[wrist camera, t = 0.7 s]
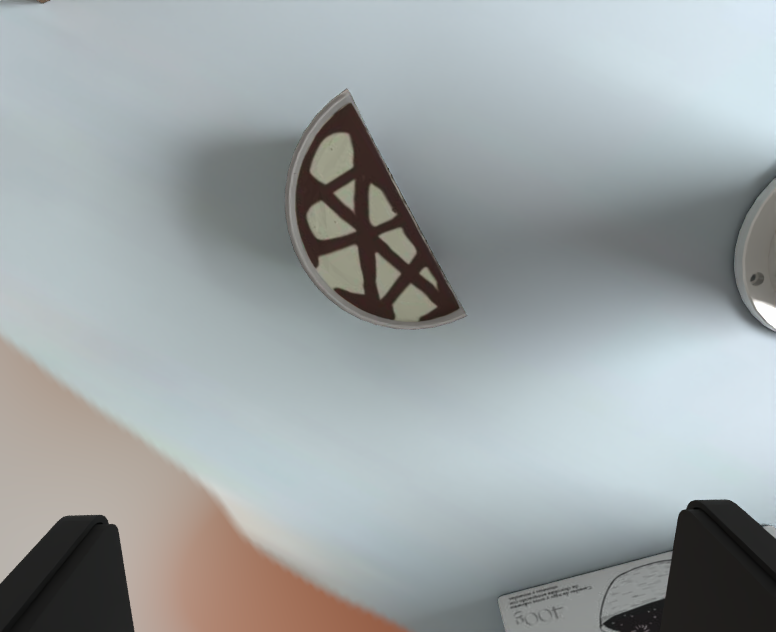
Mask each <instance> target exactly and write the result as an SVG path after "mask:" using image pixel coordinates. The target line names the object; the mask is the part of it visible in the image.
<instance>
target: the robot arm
mask: <svg viewBox="0 0 776 632" xmlns="http://www.w3.org/2000/svg"><path fill="white" fill-rule="evenodd" d="M734 271H735V277H736V284H737V287H738V290H739V292H740V295H741V298H742V300H743V302H744V303H745V305H746V306H747V308H748V309H749V311H750V312H751V314H752V315H753V316H754V317H755V318H756V319H758V320H759V321H760V322H761V323H762V324H763V325H764V326H766V327H768V328H769V329H771V330H773V331H775V332H776V178H775V179H774V180H773V181H772V182H771V183H770V184H769V185H768V186H767V187H766V188H765V189H764V190H763V192H762V193H761V194H760V195H759V196H758V198H757V199H756V201H755V202H754V204H753V205H752V207H751V208H750V210H749V211H748V213H747V215H746V218H745V220H744V222H743V224H742V227H741V229H740V231H739V235H738V239H737V244H736V248H735V259H734ZM0 632H134V626H133V621H132V614H131V608H130V601H129V595H128V588H127V583H126V576H125V570H124V564H123V557H122V550H121V544H120V538H119V532H118V528H117V527H116V525H114V524H109V523H108V520H107V519H106V517H105V516H103V515H80V516H65V517H63V518H61V519H60V520H59V521H58V522H57V523H56V524H55V525H54V526H53V527H52V528H51V529H50V530H49V532H48V533H47V534H46V535H45V536H44V537H43V538H42V539H41V540H40V541H39V542H38V544H37V545H36V546H35V547H34V548H33V549H32V550H31V551H30V552H29V553H28V554H27V555H26V557H25V558H24V559H23V560H22V561H21V562H20V563H19V564H18V565H17V566H16V567H15V569H14V570H13V571H12V572H11V573H10V574H9V575H8V576H7V577H6V578H5V579H4V581H3V582H2V583H1V584H0ZM660 632H776V538H774V537H773V536H772V535H771V534H770V533H769V532H768V531H766V530H765V529H764V528H763V527H762V526H761V525H760V524H758V523H757V522H756V521H755V520H754V519H753V518H752V517H750V516H749V515H748V514H747V513H746V512H745V511H744V510H742V509H741V508H740V507H739V506H738V505H737V504H735V503H734V502H732V501H730V500H694V501H691V502H690V503H689V504H688V506H687V509H686V510H682V511H681V512H680V513H679V516H678V521H677V527H676V533H675V540H674V546H673V552H672V559H671V565H670V571H669V577H668V584H667V590H666V596H665V602H664V609H663V615H662V621H661V627H660Z"/></svg>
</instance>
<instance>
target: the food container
mask: <svg viewBox="0 0 776 632" xmlns="http://www.w3.org/2000/svg"><path fill="white" fill-rule="evenodd" d="M285 214H286V220H287V226H288V232H289V235H290V238H291V241H292V245H293V248H294V251H295V253H296V255H297V257H298V259H299V261H300V263H301V265H302V267H303V269H304V270H305V272H306V273H307V275H308V276H309V277H310V279H311V280H312V282H313V283H314V284H315V285H316V286H317V288H318V289H319V290H320V291H321V292H322V293H323V294H324V295H325V296H326V297H327V298H328V299H330V300H331V301H332V302H333V303H335V304H336V305H337V306H339V307H340V308H341V309H343V310H344V311H346V312H348V313H350V314H352V315H353V316H355V317H357V318H359V319H362V320H364V321H367V322H370V323H373V324H375V325H379V326H384V327H389V328H394V329H412V330H414V329H424V328H433V327H437V326H441V325H445V324H448V323H452V322H454V321H456V320H459V319H461V318H464V317H466V316H467V314H466V313H465V311H464V309H463V307H462V305H461V304H460V302H459V300H458V298H457V296H456V295H455V293H454V291H453V289H452V287H451V286H450V284H449V282H448V280H447V279H446V277H445V275H444V273H443V271H442V270H441V268H440V266H439V264H438V262H437V261H436V259H435V257H434V255H433V253H432V251H431V249H430V247H429V245H428V243H427V241H426V240H425V238H424V236H423V234H422V232H421V230H420V228H419V226H418V224H417V223H416V221H415V219H414V217H413V215H412V213H411V211H410V209H409V207H408V205H407V204H406V201H405V200H404V198H403V196H402V194H401V192H400V190H399V188H398V186H397V185H396V183H395V181H394V178H393V177H392V174H391V173H390V171H389V168H388V167H387V166H386V164H385V162H384V160H383V158H382V156H381V154H380V152H379V150H378V148H377V147H376V145H375V143H374V141H373V139H372V137H371V135H370V133H369V131H368V129H367V127H366V125H365V123H364V121H363V119H362V117H361V114H360V112H359V110H358V108H357V106H356V104H355V102H354V100H353V98H352V96H351V94H350V92H349V90H348V89H346V90H344V91H343V92H342V93H340V94H339V95H338V96H336V97H335V98H333V99H332V100H331V101H330V102H329V103H328V104H327V105H326V106H325V107H324V108H323V109H322V110H321V111H320V112H319V113H318V114H317V115H316V116H315V117H314V119H313V120H312V122H311V123H310V124H309V126H308V127H307V129H306V130H305V131H304V133H303V135H302V137H301V139H300V141H299V143H298V145H297V147H296V149H295V151H294V154H293V157H292V160H291V163H290V167H289V170H288V175H287V182H286V188H285Z"/></svg>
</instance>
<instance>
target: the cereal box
mask: <svg viewBox="0 0 776 632" xmlns="http://www.w3.org/2000/svg"><path fill="white" fill-rule="evenodd" d="M763 528H764V529H765V530H766V531H768V532H769V533H770V534H771V535H772V536H773V537H774V538H776V528H775V527H773V526H764V527H763ZM672 552H673V551H670V552H666V553H662V554H658V555H655V556H651V557H647V558H643V559H639V560H636V561H632V562H628V563H624V564H621V565H617V566H613V567H609V568H605V569H602V570H598V571H594V572H590V573H586V574H583V575H579V576H575V577H571V578H567V579H564V580H560V581H556V582H552V583H549V584H545V585H541V586H537V587H533V588H530V589H526V590H522V591H518V592H514V593H511V594H507V595H503V596H500V597H499V599H498V605H499V609H500V613H501V616H502V620H503V624H504V628H505V632H660V627H661V621H662V615H663V609H664V602H665V596H666V590H667V584H668V577H669V571H670V565H671V559H672Z"/></svg>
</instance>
